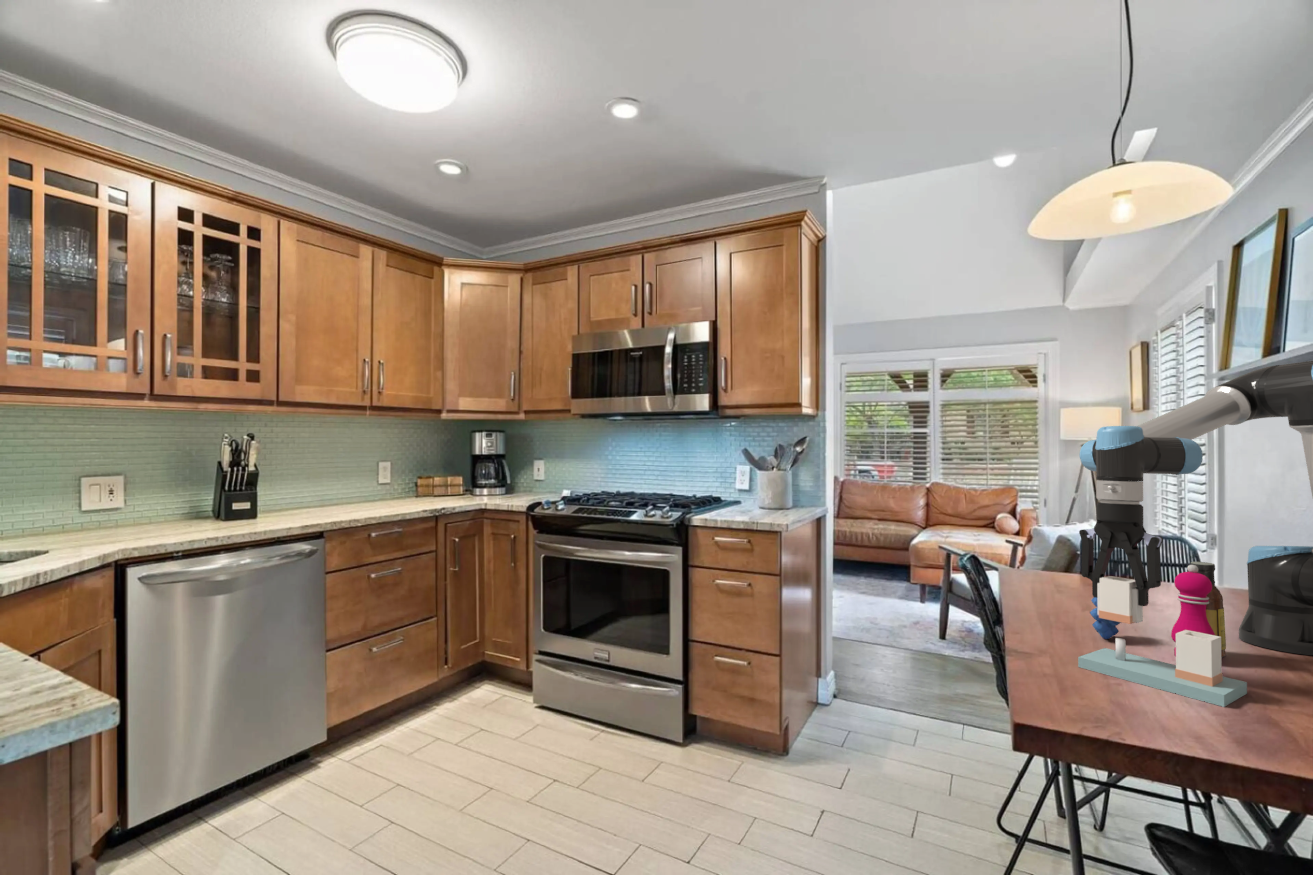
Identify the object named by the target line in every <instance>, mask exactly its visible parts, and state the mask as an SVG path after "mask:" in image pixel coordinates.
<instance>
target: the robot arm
mask: <svg viewBox="0 0 1313 875" xmlns="http://www.w3.org/2000/svg"><path fill="white" fill-rule="evenodd" d="M1286 417H1287V420H1288V426H1289V428H1291V429H1293V430H1295V431H1297V432H1298V433H1300V434H1301V440H1302V446H1303V451H1304V458H1305V463H1306V464H1305V465H1306V467H1307V468H1306V469H1307V473H1308V474H1307V475H1308V479H1309V484H1310V485H1309V486H1310V491H1311V497H1312V498H1313V360H1307V361H1299V362H1293V363H1285V364H1275V365H1270V366H1266V367H1262V368H1258V369H1256V370H1253V371H1250V372H1247V373H1245V374H1243V375H1240V376H1237V377H1235V378H1233V379H1229V381H1225V382H1224V383H1222V384H1221V383H1220V384H1219V385H1217V386H1214V387H1212V388H1210V389H1209V390H1208V391H1207V392H1206V393H1205V395H1204V396H1203V397H1201V398H1198V399H1195V400H1194V401H1191V402H1189V403H1186V404H1185V405H1183V406H1180V407H1178V408H1176V409H1175V408H1174V409H1172V410H1170V411H1168V412H1167V413H1164V414H1161V415H1160V416H1157V417H1155V418H1152V419H1150V420H1148V421H1145V422H1143V423H1141V424H1139V425H1110V426H1109V425H1108V426H1102V427H1099V428H1098V430H1097V432H1096V439H1091V440H1088V441H1086V442H1085V443H1084V444H1083V445H1082V446H1081V447H1080V450H1079V460H1080V463H1081V464H1082V466H1083V467H1084V468H1085V469H1087V470H1089V471H1091V472H1096V479H1095V481H1096V484H1095V485H1096V489H1095V490H1096V492H1095V493H1096V496H1095V497H1096V499H1097V500H1099V501H1098V502H1097V503H1096V504H1095V506H1096V507H1095V512H1096V513H1095V514H1096V515H1095V518H1096V520H1095V521H1096V523H1095V525H1094V527H1093V528H1086V529H1080V530H1079V531H1078V532H1079V533H1078V534H1079V536H1080V538H1081V572H1080V573H1081V576H1082V577H1083V578H1087V579H1089V580H1091V582H1092V583H1091V584H1092V586H1091V587H1092V590H1091V592H1092V594H1091V595H1092V598H1094V597H1096V598H1097V607H1096V608H1097V615H1099V610H1100V578H1103V577H1105V575H1106V571H1107V570H1108V566H1109V563H1110V560H1111V557H1112V554H1113V552H1114V551H1115V548H1117V549H1121V550H1124V553H1125V554H1126V556H1127V560H1128V563H1129V566H1130V569H1131V572H1132V576H1133V580H1135V582H1136V585H1137V587H1135V588H1133V589H1132V622H1134V623H1133V624H1135V623H1136V624H1137V623H1138V624H1139V623H1142V622H1143V620H1144V619H1143V617H1144V614H1143V613H1144V611H1143V609H1144V607H1148V604H1149V592H1150V589H1155V588H1159V587H1161V585H1162V582H1161V579H1162V578H1161V576H1162V575H1161V551H1160V549H1161V546H1162V544H1163V542H1164V538H1163V537H1162V536H1155V535H1153V534H1151V533H1147V530H1146V528H1145V527H1144V505H1142V504H1140V503H1141V502H1143V501H1144V474H1150V475H1151V474H1156V475H1172V476H1173V475H1174V476H1179V475H1188V474H1189V475H1190V474H1191V473H1194V472H1195V471H1197V470H1198V469H1199V468H1200V467H1201V466H1202V463H1203V460H1204V458H1203V457H1204V456H1203V450H1202V447H1201V445H1199V444H1198V443H1197V442H1196V441H1195V440H1194V439H1196V438H1199V437H1201V436H1204V435H1206V434H1208V433H1210V432H1212V431H1215V430H1218V429H1220V428H1222V427H1224V426H1226V425H1229V426H1234V425H1235V426H1238V425H1240V424H1243V423H1245V422H1248V421H1251V420H1257V419H1267V418H1286ZM1096 535H1097V537H1098V538H1099V539H1100V540H1101V543H1100V547H1099V553H1098V556H1097V559H1096V562H1095V565H1094V561H1095V560H1094V558H1095V540H1094V539H1095V538H1096ZM1142 540H1144V541H1145V542H1144V543H1145V545H1146V546H1147V548H1146V557H1147V558H1146V560H1147V561H1146V562H1147V563H1146V565H1147V572H1146V571H1145V567H1144V564H1143V561H1142V558H1141V555H1140V552H1141V551H1140V548H1139V546H1138V545H1139V544H1140V542H1142ZM1246 565H1247V567H1246V568H1247V587H1248V588H1247V589H1248V590H1247V593H1248V595H1247V596H1248V608H1247V610H1246V612H1245V614H1244V616H1243V618H1242V620H1241V623H1240V625H1239V628H1238V639H1239V640H1241V641H1242V642H1245V643H1247V644H1250V645H1254V646H1258V647H1261V648H1265V649H1270V650H1275V651H1280V652H1285V653H1290V654H1298V655H1306V656H1313V546H1312V545H1310V546H1308V545H1305V546H1304V545H1302V546H1301V545H1255V546H1252V547H1250V548H1249V550H1248V554H1247V562H1246ZM1146 573H1147V574H1146Z"/></svg>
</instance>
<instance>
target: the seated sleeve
mask: <svg viewBox="0 0 1313 875" xmlns="http://www.w3.org/2000/svg"><path fill="white" fill-rule="evenodd" d="M1175 647H1176V657H1175V665H1176V669H1175V677H1177V678H1181V679H1185V680H1189V681H1192V682H1196V683H1200V684H1204V685H1208V686H1212V687H1213V686H1215V685H1216V684H1218V683H1220V682H1222V681H1223V677H1224V676H1223V675H1224V674H1223V672H1222V657H1221V637H1220V636H1215V635H1210V634H1205V633H1200V632H1195V631H1190V630H1184V631H1181V632H1178V633H1176V643H1175Z"/></svg>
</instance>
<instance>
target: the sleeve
mask: <svg viewBox="0 0 1313 875" xmlns="http://www.w3.org/2000/svg"><path fill="white" fill-rule="evenodd" d="M1135 587H1137V585H1136V582H1135V579H1134V578H1133V579H1131V578H1125V577H1121V576H1120V577H1119V576H1114V575H1113V576H1112V575H1108V576H1104V577H1103V578H1100V610H1099V618H1102V619H1107V620H1112V621H1117V622H1122V623H1121V624H1128V625H1132V624H1135V623H1134V622H1132V589H1133V588H1135Z"/></svg>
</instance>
